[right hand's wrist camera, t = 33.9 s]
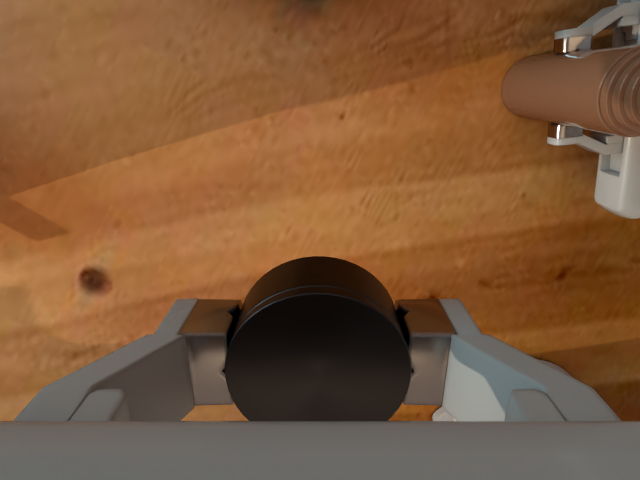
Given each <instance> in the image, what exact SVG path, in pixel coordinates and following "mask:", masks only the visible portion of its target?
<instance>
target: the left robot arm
mask: <svg viewBox="0 0 640 480" xmlns="http://www.w3.org/2000/svg"><path fill="white" fill-rule="evenodd" d="M612 28H614V30H613V39H612V47H615V46H625V45H634V44H640V0H617V4H616V5H614V6H610V7H606V8H603V9H601V10H600V11H599V12H597V13H596V14H595V15H593V16H592V17H591V18H589V19H588V20H587V21H585V22H584V23H583V24H581V25H580V26H579V27H578V28H573V29H567V30H562V31H557V32H555V38H554V39H555V40H554V53H553V54H559V53H567V52H573V51H578V50H587V49H591V41H592V36H594V35H595V34H597V33H598V32H600V31H601V30H604V29H612ZM547 143H548V144H552V145H570V144H575V145H577V146H579V147H581V148H584V149H586V150H588V151H591V152H595V153H598V154H599V161H598V170H597V179H596V187H595V195H594V199H595V201H596V202H597V203H598V204H599V205H600V206H602V207H603V208H604V209H606V210H607V211H609V212H611V213H613V214H616V215H618V216H621V217H624V218H629V219H638V218H640V136H639V137H621V136H616V135H611V134H606V133H601V132H593V133H591V134H590V137H588V136H586V135H584V134H583V129H580V128H575V127H570V126H565V125H560V124H555V123H549V127H548V137H547ZM537 360H538V359H537ZM539 361H541V362H543V363H545V364H547V365H549V366H551V367H553V368H555V369H557V370H559V371H561V372H563V373H565V374H566V375H568V376H570V377H572V376H571V375H570V374H569V373H568V372H567V371H566V370H564V369H563V368H561V367H560V366H558V365H556V364H553V363H551V362H548V361H544V360H539ZM572 378H573V377H572ZM432 421H456V420H455V419H454V418H453V417H452V416H451V415H450V414H449V413H448V412H447V411H446V410H445V409H444V408H442V407H441V408H439V409H438V410H437V411H435V412H434V414H433V416H432Z"/></svg>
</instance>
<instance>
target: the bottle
mask: <svg viewBox="0 0 640 480" xmlns="http://www.w3.org/2000/svg"><path fill="white" fill-rule="evenodd" d="M502 99H503V103H504V105H505V106H506V108H507V109H508V110H509V111H510V112H511V113H512V114H514V115H516V116H519V117H524V118H529V119H534V120H539V121H544V122H549V123H555V124H560V125H565V126H570V127H575V128H580V129H585V130H591V131H596V132H601V133H606V134H611V135H616V136H621V137H639V136H640V44H634V45H625V46H615V47H606V48H597V49H587V50H578V51H573V52H567V53H559V54H553V53H550V54H541V55H532V56H528V57H525V58H523V59H521V60H519V61H518V62H516V63H515V64H514V65H513V66H512V67H511V68H510V70H509V71H508V72H507V74H506V76H505V78H504V81H503V84H502Z"/></svg>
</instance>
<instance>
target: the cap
mask: <svg viewBox="0 0 640 480" xmlns="http://www.w3.org/2000/svg"><path fill="white" fill-rule="evenodd" d="M411 373H412V365H411V357H410V352H409V349H408V346H407V343H406V339H405V336H404V333H403V330H402V327H401V324H400V321H399V318H398V315H397V312H396V309H395V306H394V304H393V301H392V298H391V297H390V295H389V293H388V291H387V290H386V289H385V287H384V286H383V285H382V283H381V282H380V281H379V280H378V279H377V278H376V277H375V276H373V275H372V274H371V273H369V272H368V271H367V270H365V269H363V268H361V267H360V266H358V265H356V264H353V263H351V262H348V261H346V260H342V259H338V258H332V257H322V256H313V257H304V258H299V259H295V260H291V261H289V262H286V263H283V264H281V265H279V266H277V267H275V268H273V269H272V270H270V271H269V272H267V273H266V274H265V275H263V276H262V277H261V278H260V279H259V280H258V281H257V282H256V283H255V285H254V286H253V287H252V288H251V290H250V291H249V293H248V295H247V296H246V298H245V301H244V303H243V306H242V308H241V311H240V314H239V317H238V320H237V323H236V326H235V329H234V332H233V335H232V338H231V341H230V344H229V347H228V350H227V354H226V358H225V379H226V383H227V387H228V390H229V393H230V395H231V397H232V400H233V401H234V403H235V405H236V406H237V408H238V409H239V410H240V411H241V413H242V414H243V415H244V416H245V417H246V418H247V419H248V420H249V421H387V420H389V419H390V418H391V417H392V416H393V414H394V413H395V412H396V411H397V410H398V408H399V407H400V405H401V404H402V402H403V400H404V398H405V396H406V394H407V392H408V389H409V385H410V381H411Z"/></svg>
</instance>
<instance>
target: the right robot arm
mask: <svg viewBox="0 0 640 480" xmlns="http://www.w3.org/2000/svg"><path fill="white" fill-rule="evenodd" d="M394 306H395V309H396V312H397V315H398V318H399V321H400V324H401V327H402V330H403V333H404V336H405V339H406V343H407V346H408V349H409V352H410V357H411V365H412V373H411V381H410V385H409V389H408V392H407V394H406V396H405V398H404V400H403V403H404V404H410V405H442V408H444V409H445V410H446V411H447V412H448V413H449V414H450V415H451V416H452V417H453V418H454V419H455V420H456V421H180V420H182V419H183V418H184V417H185V416H186V415H187V414H188V413H189V412H190V411H191V410H192V409H193V408H194V405H226V404H233V402H234V401H233V400H232V397H231V395H230V393H229V390H228V387H227V383H226V379H225V358H226V354H227V350H228V347H229V344H230V341H231V338H232V335H233V332H234V329H235V326H236V323H237V320H238V317H239V314H240V311H241V308H242V302H241V300H233V299H198V298H196V299H177V300H176V301H175V303H174V304H173V306H172V307H171V309H170V310H169V312H168V313H167V315H166V316H165V318H164V319H163V321H162V322H161V324H160V325H159V327H158V328H157V330H156V331H155V333H154V334H153V335H145V336H143V337H142V338H140V339H138V340H136V341H134V342H132V343H130V344H128V345H126V346H124V347H122V348H120V349H118V350H116V351H114V352H112V353H110V354H108V355H106V356H104V357H102V358H100V359H98V360H96V361H94V362H92V363H90V364H88V365H87V366H85V367H83V368H81V369H79V370H77V371H75V372H73V373H71V374H69V375H67V376H65V377H63V378H61V379H59V380H57V381H55V382H53V383H51V384H49V385H47V386H45V387H43V389H42V390H41V391H40V392H39V393H38V394H37V395H36V396H35V397H34V399H33V400H32V401H31V402H30V403H29V404H28V405H27V406H26V407H25V409H24V410H23V411H22V412H21V413H20V414H19V415H18V416H17V417H16V418H15V420H14V421H0V480H640V421H621V420H620V419H619V417H618V416H617V415H616V414H615V413H614V412H613V411H612V409H611V408H610V407H609V406H608V405H607V404H606V403H605V401H604V400H603V399H602V398H601V397H600V396H599V395H598V394H597V392H596V391H595V390H594V389H593V388H592V387H590V386H588V385H586V384H584V383H582V382H580V381H578V380H576V379H574V378H572V377H570V376H568V375H566V374H565V373H563V372H561V371H559V370H557V369H555V368H553V367H551V366H549V365H547V364H545V363H543V362H541V361H539V360H537V359H535V358H534V357H532V356H530V355H528V354H526V353H524V352H522V351H520V350H518V349H516V348H514V347H512V346H510V345H508V344H506V343H504V342H502V341H501V340H499V339H497V338H495V337H493V336H491V335H483V334H482V332H481V331H480V329H479V328H478V326H477V325H476V323H475V322H474V320H473V319H472V317H471V316H470V314H469V313H468V311H467V310H466V308H465V307H464V305H463V303H462V302H461V300H459V299H457V298H454V299H410V300H396V301H395V305H394Z"/></svg>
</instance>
